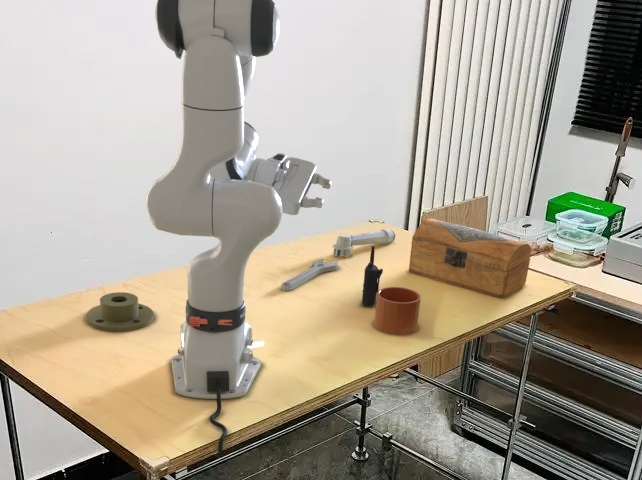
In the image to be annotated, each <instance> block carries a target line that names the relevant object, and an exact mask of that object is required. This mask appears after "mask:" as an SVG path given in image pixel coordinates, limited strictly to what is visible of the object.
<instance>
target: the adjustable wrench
mask: <svg viewBox="0 0 642 480" xmlns="http://www.w3.org/2000/svg"><path fill="white" fill-rule="evenodd" d="M338 269H339V262H338V260H336V259H334V260H333V262H325V258H319V259H317V260H315V261H312V263H311V268H309V269H306V270H305V271H303V272H301V273H299V274H297V275H295V276H293V277H291V278H290V279H288V280H286V281H284V282H282V283H281V290H282V291H285V292H290V291H293V290H294V289H296V288H297V287H299V286H301V285H303V284H304V283H306V282H307V281H310V280H311V279H313V278H314V277H316V276H318V275H320V274H323V273H327V272H331V271H336V270H338Z"/></svg>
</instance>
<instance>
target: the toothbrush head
mask: <svg viewBox="0 0 642 480" xmlns="http://www.w3.org/2000/svg"><path fill="white" fill-rule="evenodd" d="M395 240H396V233H395V231H394V230H392V229H385V228H381V229H379V230H375V231H370V232H363V233H358V234H357V233H356V234H350V235H349V234H343V233H342V234H338V236H337V239H336V242H335V243H333V244H332V248H333V251H332V254H333V255H334V256H336V257H341V258H342V257H343V256H344V257H345V258H349V257H350V256H351V255H352V251H353V249H354V247H355V246H367V245H379V244H382V245H386V244H391V243H394V241H395Z"/></svg>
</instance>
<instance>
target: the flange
mask: <svg viewBox="0 0 642 480" xmlns="http://www.w3.org/2000/svg"><path fill="white" fill-rule="evenodd" d="M153 320H154V311H153V309H151V307H149V306H148V305H145V304H141V303H139V297H138V296H137V295H136V294H133V293H129V292H121V291H119V292H118V291H117V292H110V293H106V294H104V295H102V296H101V297H100V298H99V304H98V305H96V306H94V307H92V308H90V309H89V310H88V311H87V313H86V323H87V324H88V325H89V326H90V327H92V328H95V329H97V330H102V331H107V332H128V331H129V332H130V331H135V330H139V329H141V328H145V327H146V326H149V325H150V324H151V323H152V322H153Z"/></svg>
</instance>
